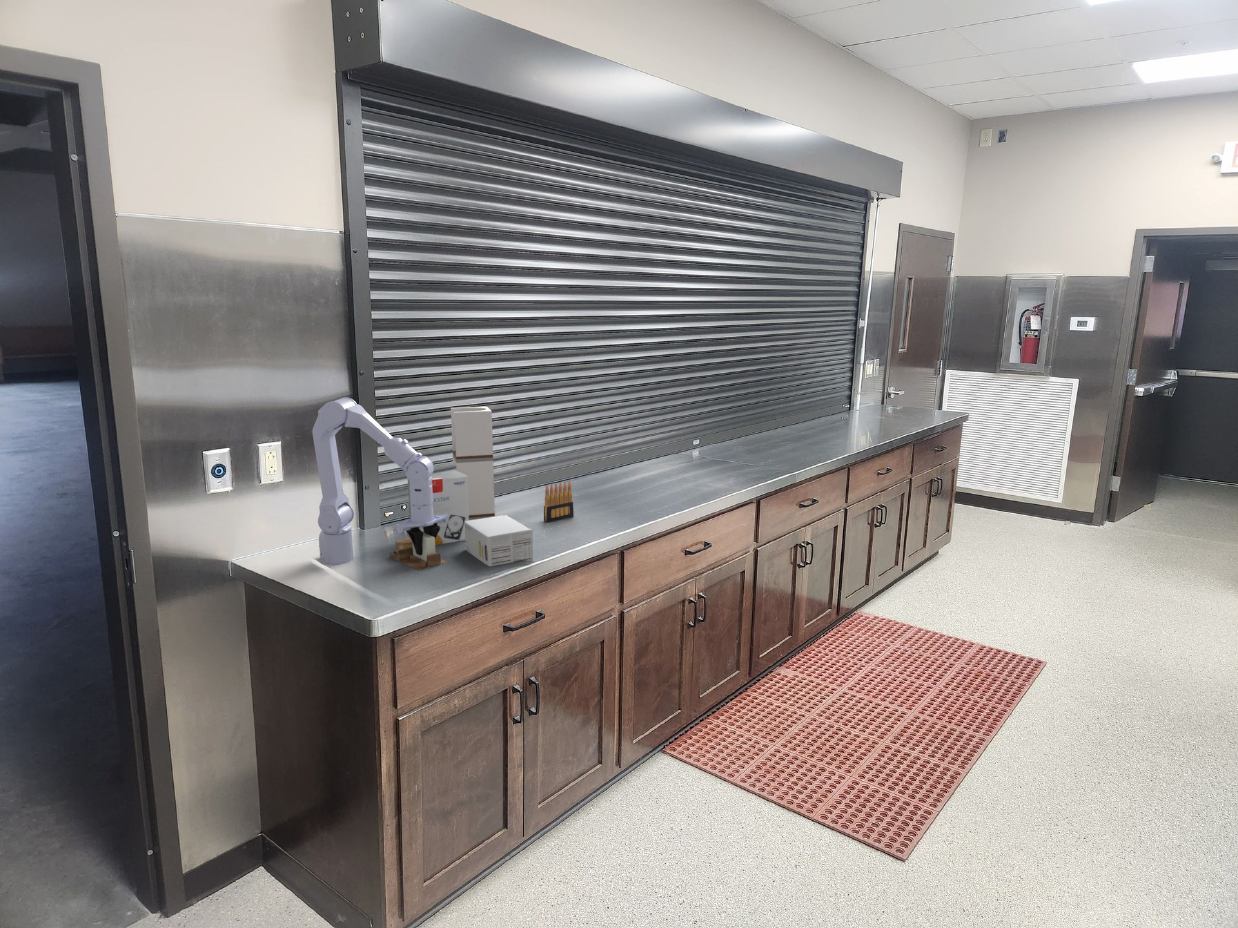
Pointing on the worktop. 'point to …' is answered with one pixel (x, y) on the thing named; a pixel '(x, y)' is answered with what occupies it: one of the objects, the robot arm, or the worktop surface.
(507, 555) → the supplement box
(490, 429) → the tall banded white pillar
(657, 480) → the worktop surface
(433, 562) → the rack
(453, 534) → the hard drive box
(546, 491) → the ammunition clip
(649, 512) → the worktop surface
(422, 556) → the panel
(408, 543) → the offcut upper
